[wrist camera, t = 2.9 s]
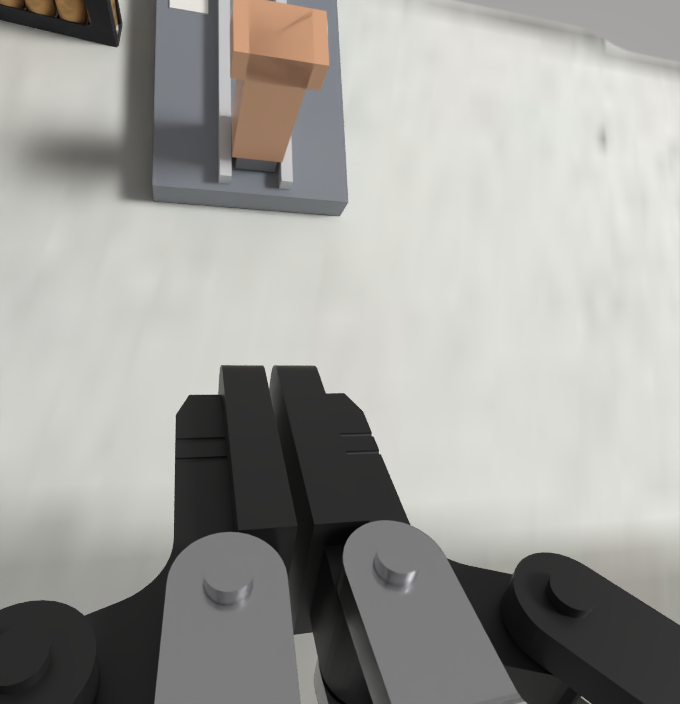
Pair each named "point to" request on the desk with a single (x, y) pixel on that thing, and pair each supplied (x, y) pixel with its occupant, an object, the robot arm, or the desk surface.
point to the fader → (272, 75)
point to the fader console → (216, 120)
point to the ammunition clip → (68, 17)
